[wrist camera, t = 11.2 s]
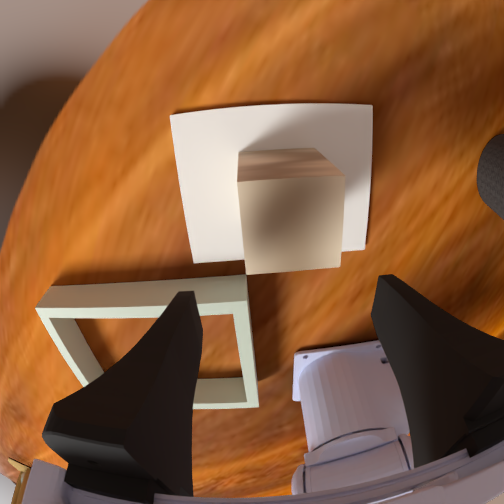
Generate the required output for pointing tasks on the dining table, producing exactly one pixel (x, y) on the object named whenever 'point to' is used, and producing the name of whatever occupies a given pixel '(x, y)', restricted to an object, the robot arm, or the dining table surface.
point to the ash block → (290, 210)
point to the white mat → (265, 138)
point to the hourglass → (20, 482)
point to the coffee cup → (492, 175)
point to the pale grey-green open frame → (146, 306)
